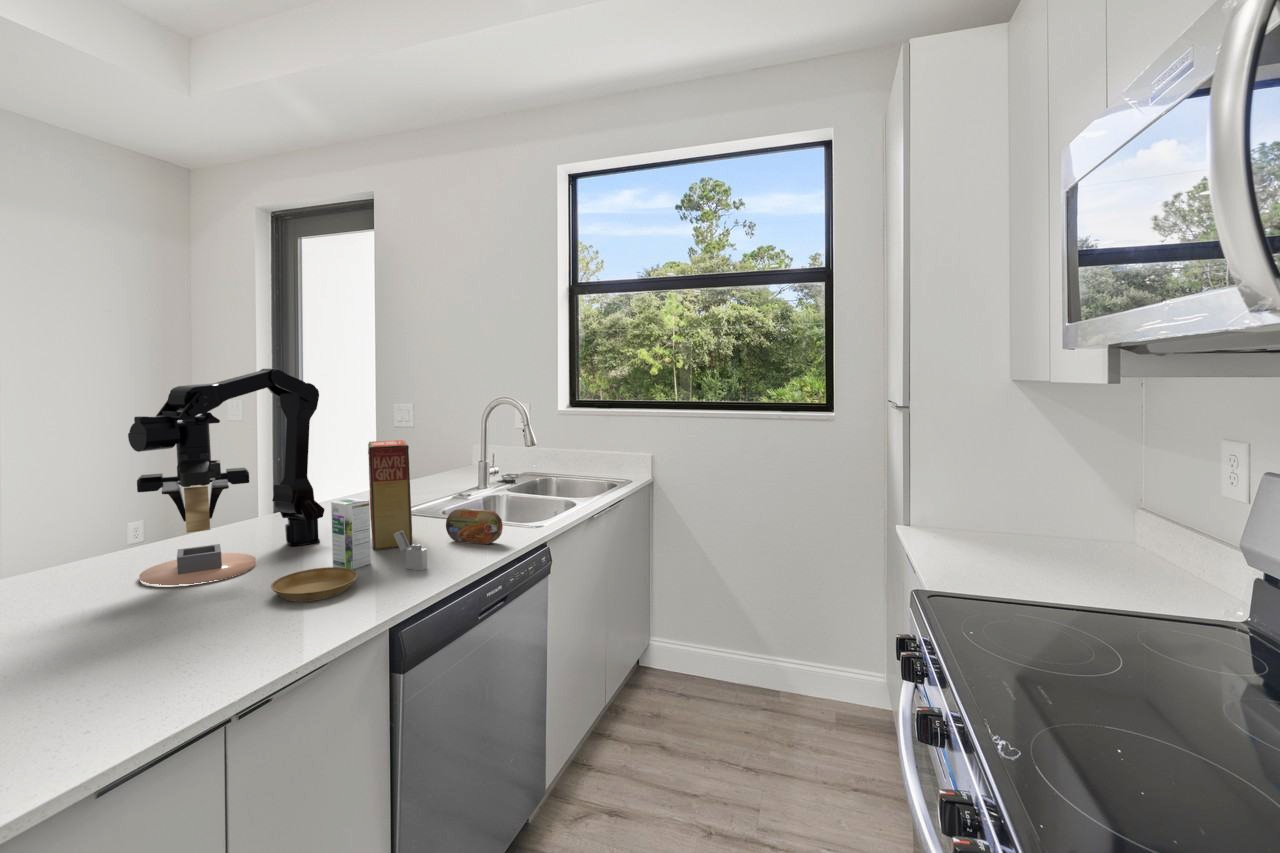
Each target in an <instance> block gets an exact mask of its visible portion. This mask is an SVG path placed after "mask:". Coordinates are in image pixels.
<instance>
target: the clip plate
mask: <svg viewBox="0 0 1280 853" xmlns="http://www.w3.org/2000/svg"><path fill="white" fill-rule="evenodd" d="M255 565H257V560H256V557H255V556H253V555H251V554H247V553H240V552H239V553H238V552H222V549H221V544H220V543H217V544H209V545H200V546H194V547H186V548H185V547H184V548H178V549H177V554H176V559H173V560H170V561H167V562H166V561H165V562H163V563H159V564H155V565H153V566H150V567H149V568H146V569H145V570H143V571H142V572H140V574H139V576H138V579H140V580H141V581H143V582H146V583H149V584H159V585H160V584H161V585H179V584H194V583H201V582H209V581H214V580H221V579H225V578H229V577H232V576H235V575H238V574H241V575H243V574H245V573H244V572H246V571H248V570H250V569H251V570H252V568H253V567H254V566H255ZM255 567H256V566H255ZM255 567H254V568H255ZM254 568H253V569H254ZM251 570H250V571H251ZM248 572H249V571H248ZM242 573H243V574H242ZM246 573H247V572H246ZM238 576H239V575H238ZM235 577H236V576H235ZM232 578H233V577H232ZM229 579H230V578H229ZM140 580H139V581H140ZM225 580H226V579H225ZM221 581H222V580H221Z"/></svg>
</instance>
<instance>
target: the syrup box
mask: <svg viewBox="0 0 1280 853" xmlns="http://www.w3.org/2000/svg"><path fill="white" fill-rule="evenodd" d="M330 511H331V512H330V513H331V542H332V543H331V544H332V548H331V550H332V551H331V552H332V567H339V568H347V569H351V570H356V569H359V568H362V567H364V566H365V567H366V566H368V565H370V564H371V563H372V561H371V560H372V556H371V550H372V549H371V548H372V547H371V544H372V543H371V516H370V499H369V500H365V499H358V498H353V497H352V498H351V497H350V498H342V499H336V500H334V501H331V509H330Z"/></svg>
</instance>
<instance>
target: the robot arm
mask: <svg viewBox="0 0 1280 853" xmlns="http://www.w3.org/2000/svg"><path fill="white" fill-rule="evenodd" d="M264 389H268V390H269V392H270V393H271V394H273V395H274V396H276V397H278V398H279V401H280V402H279V403H280V408H281V409H282V412H283V414H284V416H285V418H286V431H285V432H286V433H285V450H284V451H285V452H284V453H285V455H284V456H285V457H284V475H283V479H282V480H281V482H280V484H274V485H273V498H272V500H271V501H272V502H274V508H276V509H277V510H278V511H279V512H280V515H281V517H282V518H283V519H287V524H285V526H284V528H285V541H286V543H287V544H289V546H290V547H296V546H305V545H310V544H318V543H320V542H321V540H320V538H319V519H321V518H322V519H323V517H324V513H325V508H324V507H323V506H322V505H320V504H319V503H318V502H317V501H316V500H315V494H314V488H313V486H312V484H311V481H310V480H309V478H308V468H309V466H308V465H309V450H310V449H309V447H310V426H311V425H310V423H311V422H310V421H311V419H312V417H313V415H314V414H315V412H316V410H317V409H318V404H319V398H320V393H319V392H320V391H319V389H318V388H317V387H316V386H315V385H314V384H312V383H310V382H305V381H304V380H301V379H299V378H297V377H294V376H292V375H289V374H288V373H286V372H284V371H283V370H282V369H281V370H280V369H279V368H262V369H260V370H258V371H255V372H250V373H246V374H243V375H239V376H235V377H232V378H228V379H224V380H221V381H217V382H214V383H201V384H188V385H178V386H176V387H172V389H171V390H170V392H169V394H168V397H167V400H166V402H165V403H164V404H163V405H162V407H161V408H160V409H159V411H158V412H157V414H156V415H155V416H145V415H143V416H141V415H140V416H134V422H133V423H132V425H131V426H130V428H129V432H128V434H127V438H128V442H129V445H130V447H131V449H132V450H133V451H135V452H138V453H141V452H149V451H159V450H161V451H162V450H169V449H172V448H174V447H175V446H176V458H177V459H176V462H177V464H176V465H177V466H176V472H177V473H176V474H177V476H164V474H163V473H151V474H141V475H140V476H139V477H138V478H137V480H136V487H137V488H136V489H137V493H149V492H158V491H159V490H161V489H162V490H161V495H168V496H169V497H170V498H171V500H172V501H173V503H174V504H175V505H176V509H177V510H178V512H179V514H180V516H181V519H182V521H183V522H184V523H186V514H185V501H184V497H183V493H182V490H181V489H182V488H184V487H190V486H199V485H201V486H205V485H208V486H209V485H210V484H211V486H210V497H209V516H210V520H211V519H213V515H214V512H215V510H216V505H217V502H218V500H219V498H220V496H221V494H222V492H223V491H224V490H228V489H229V488H230V487H229V484H231V485H241V484H243V485H244V484H250V472H249V470H248V469H247V468H245V467H233V468H226V469H225V472H222V471H221V460H220V459H212V453H211V452H212V451H211V450H212V449H211V434H210V425H211V424H219V423H220V422H221V420H220V419H219V418H217V417H216V416H214V415H213V414H212V412H211V411H213V410H215V409H216V408H218V407H220V406H221V405H222V404H223V403H224V402H226V401H228V400H231V399H234V398H237V397H240V396H244V395H247V394H252V393H253V392H257V391H260V390H264ZM181 487H182V488H181Z"/></svg>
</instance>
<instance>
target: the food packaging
mask: <svg viewBox="0 0 1280 853" xmlns="http://www.w3.org/2000/svg"><path fill="white" fill-rule="evenodd" d="M367 446H368V448H367V452H368V454H367V456H368V478H369V479H368V480H369V501H370V530H371V541H372V542H371V544H372V550H373V551H379V550H380V551H382V550H390V549H399V546H398V544H397V542H396V540H395V537H394V534H395V533H397V532H399V531H402V530H403V532H404V534H405V536H406V538H407V541H408V543H409V545H410V547H411V545H412V544H413V518H412V516H413V515H412V502H411V501H412V500H411V499H412V498H411V478H410V476H411V475H410V457H409V456H410V455H409V452H410V451H409V450H410V449H409V448H410V447H409V445H408V443H407V442H406V441H405V440H404V439H402V440H400V439H399V440H394V439H393V440H375V441H374V440H373V441H368V444H367Z"/></svg>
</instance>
